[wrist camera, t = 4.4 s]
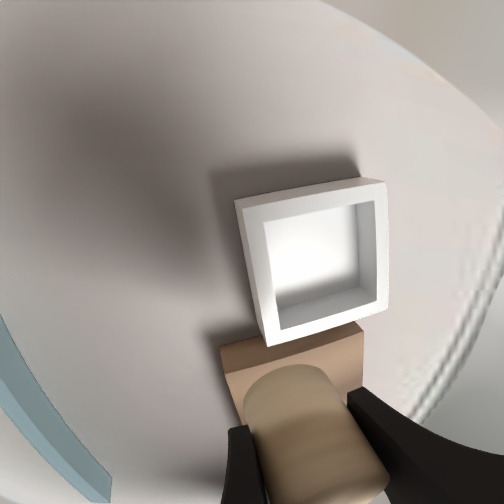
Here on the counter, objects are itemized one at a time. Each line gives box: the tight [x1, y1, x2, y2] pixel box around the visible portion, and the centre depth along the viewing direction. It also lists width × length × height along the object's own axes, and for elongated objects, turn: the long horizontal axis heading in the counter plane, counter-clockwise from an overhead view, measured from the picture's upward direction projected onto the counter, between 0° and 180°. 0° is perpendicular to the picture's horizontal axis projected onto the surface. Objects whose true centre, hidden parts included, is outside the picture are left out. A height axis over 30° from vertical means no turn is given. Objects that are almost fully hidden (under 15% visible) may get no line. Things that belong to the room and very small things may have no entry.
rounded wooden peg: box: [243, 364, 390, 504], centre depth 9 cm, size 4×4×5 cm
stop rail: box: [0, 316, 112, 503], centre depth 16 cm, size 18×2×3 cm, turn 10°
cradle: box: [234, 177, 389, 347], centre depth 16 cm, size 7×7×2 cm
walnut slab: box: [219, 321, 364, 425], centre depth 19 cm, size 10×8×3 cm
